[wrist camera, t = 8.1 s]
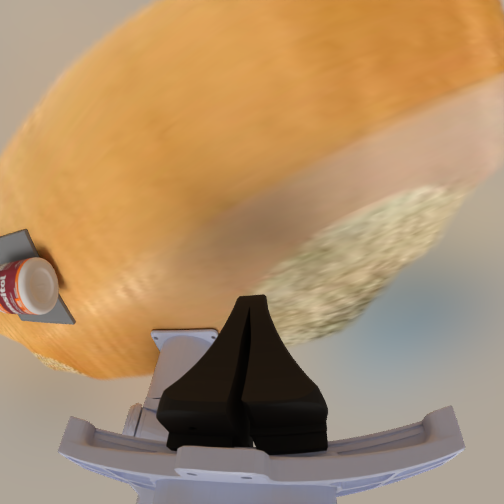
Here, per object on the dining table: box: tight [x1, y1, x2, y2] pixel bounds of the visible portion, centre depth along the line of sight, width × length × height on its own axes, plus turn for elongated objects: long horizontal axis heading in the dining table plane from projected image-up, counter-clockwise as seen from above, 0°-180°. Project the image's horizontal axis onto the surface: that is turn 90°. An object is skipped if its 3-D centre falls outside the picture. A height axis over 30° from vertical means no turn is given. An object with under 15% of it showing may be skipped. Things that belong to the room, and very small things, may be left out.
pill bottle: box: [0, 257, 59, 315], centre depth 24 cm, size 6×6×11 cm
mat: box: [0, 229, 76, 324], centre depth 28 cm, size 14×13×1 cm
